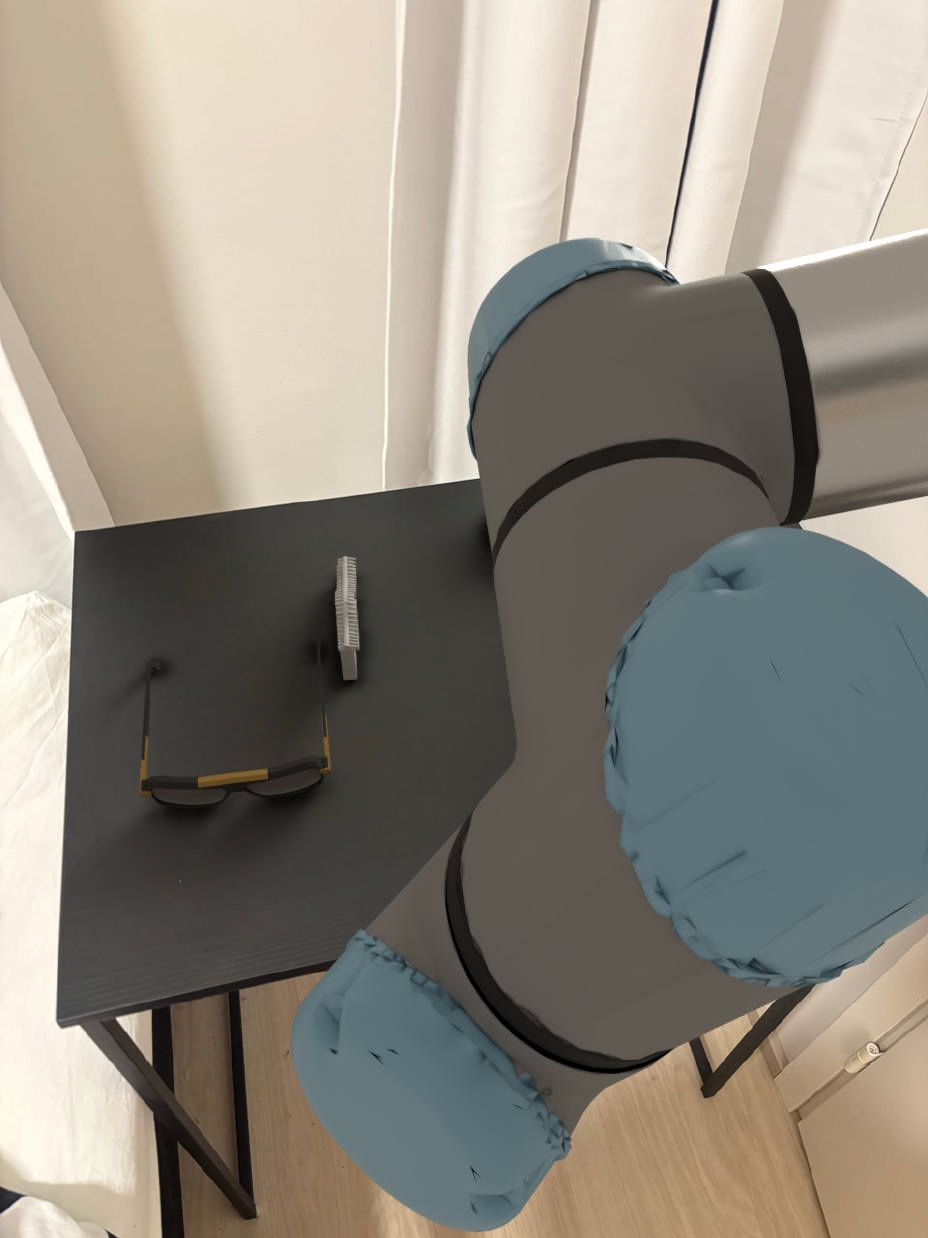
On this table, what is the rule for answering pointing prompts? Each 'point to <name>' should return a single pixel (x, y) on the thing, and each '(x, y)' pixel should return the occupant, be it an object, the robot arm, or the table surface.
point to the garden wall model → (347, 616)
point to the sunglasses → (219, 787)
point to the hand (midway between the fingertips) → (815, 562)
